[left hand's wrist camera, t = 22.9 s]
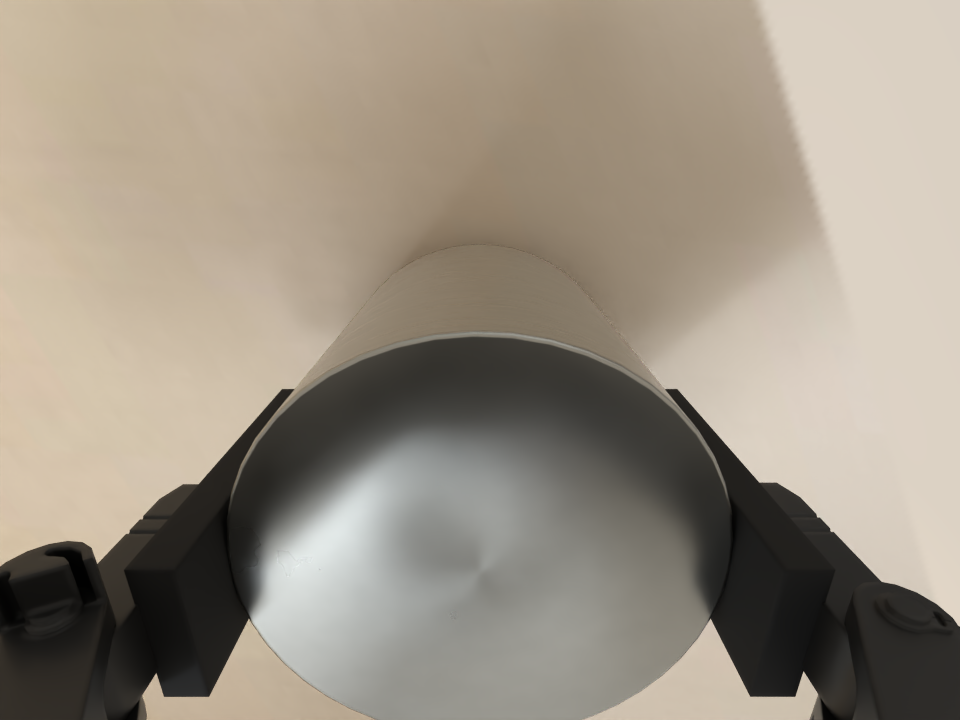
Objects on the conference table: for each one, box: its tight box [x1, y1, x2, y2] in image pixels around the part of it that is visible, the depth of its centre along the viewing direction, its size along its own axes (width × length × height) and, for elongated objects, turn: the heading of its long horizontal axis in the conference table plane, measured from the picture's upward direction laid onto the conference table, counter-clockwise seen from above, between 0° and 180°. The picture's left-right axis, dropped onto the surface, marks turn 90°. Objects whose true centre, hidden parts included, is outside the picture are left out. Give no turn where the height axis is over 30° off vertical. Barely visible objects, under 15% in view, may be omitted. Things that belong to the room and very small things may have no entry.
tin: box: [227, 244, 733, 720], centre depth 13 cm, size 9×9×9 cm
